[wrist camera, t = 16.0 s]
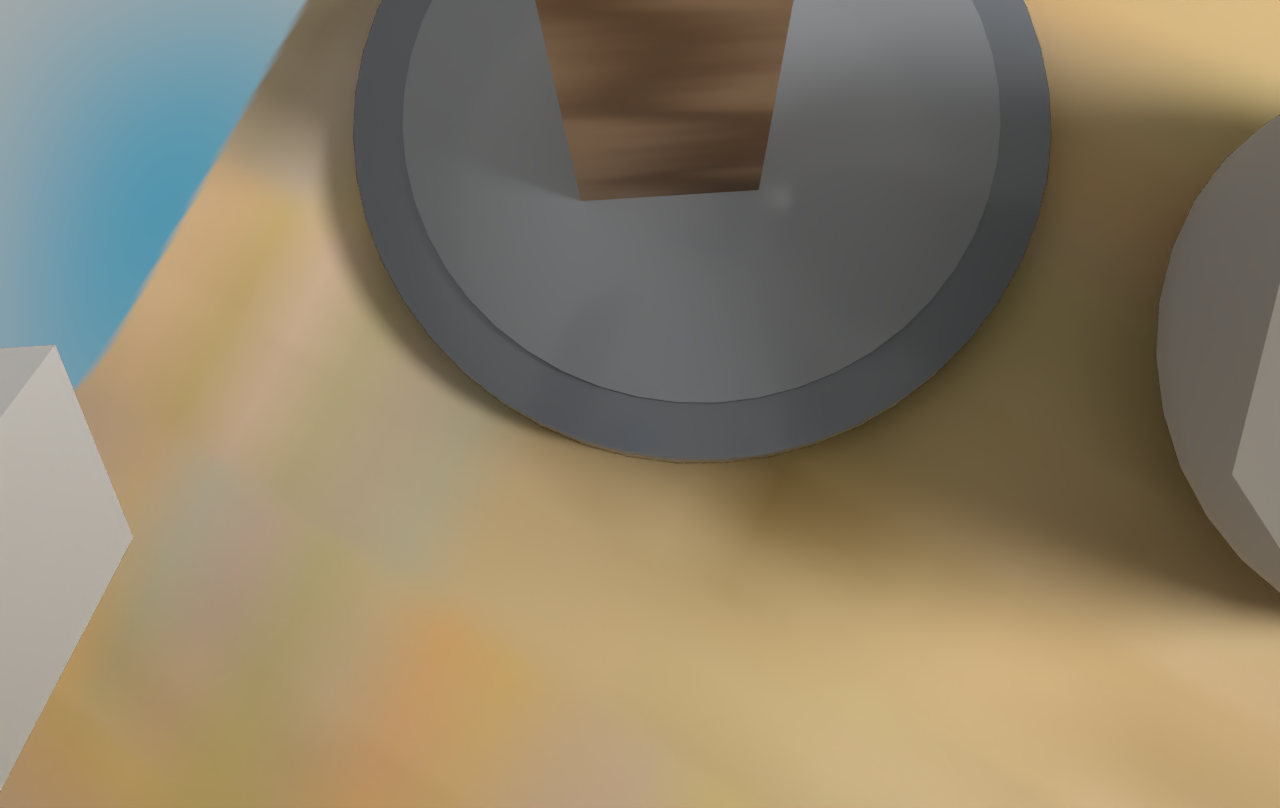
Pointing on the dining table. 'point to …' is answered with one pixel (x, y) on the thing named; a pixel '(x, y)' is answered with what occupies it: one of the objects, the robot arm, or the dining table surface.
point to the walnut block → (665, 91)
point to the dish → (708, 225)
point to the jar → (1223, 335)
